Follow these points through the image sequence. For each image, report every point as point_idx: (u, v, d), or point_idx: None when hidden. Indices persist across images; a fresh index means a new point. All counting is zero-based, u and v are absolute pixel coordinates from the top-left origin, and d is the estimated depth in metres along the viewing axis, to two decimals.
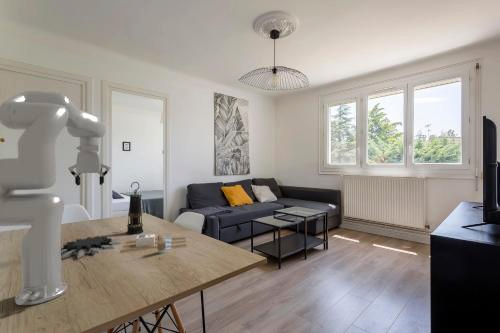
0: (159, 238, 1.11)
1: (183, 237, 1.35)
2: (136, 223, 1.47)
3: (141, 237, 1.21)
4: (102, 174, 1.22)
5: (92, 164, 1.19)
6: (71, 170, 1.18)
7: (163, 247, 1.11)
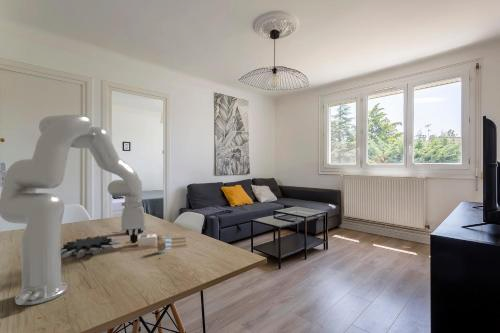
0: (159, 238, 1.11)
1: (183, 237, 1.35)
2: None
3: (143, 237, 1.21)
4: None
5: (137, 220, 1.20)
6: (125, 230, 1.20)
7: (163, 247, 1.11)
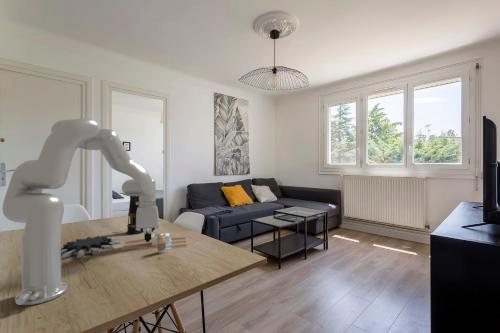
0: (159, 238, 1.11)
1: (183, 237, 1.35)
2: None
3: None
4: None
5: (151, 219, 1.21)
6: (139, 229, 1.22)
7: (163, 247, 1.11)
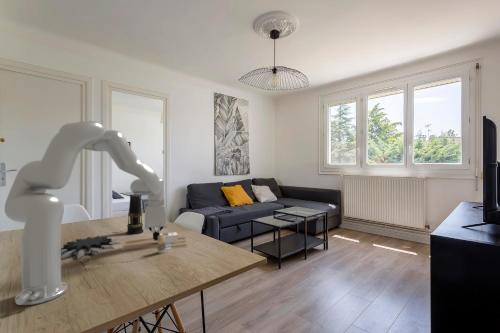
0: (159, 238, 1.11)
1: (183, 237, 1.35)
2: (136, 223, 1.47)
3: (165, 235, 1.25)
4: (159, 230, 1.24)
5: (159, 218, 1.23)
6: (148, 227, 1.23)
7: (163, 247, 1.11)
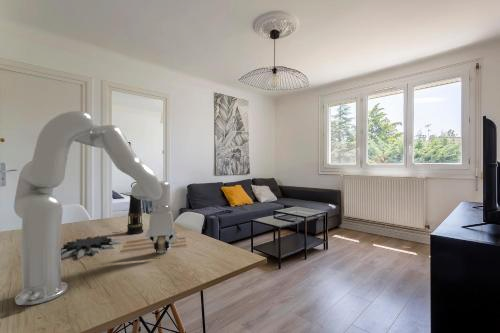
0: (159, 238, 1.11)
1: (183, 237, 1.35)
2: (136, 223, 1.47)
3: None
4: (168, 239, 1.12)
5: (165, 226, 1.10)
6: (149, 236, 1.10)
7: (163, 247, 1.11)
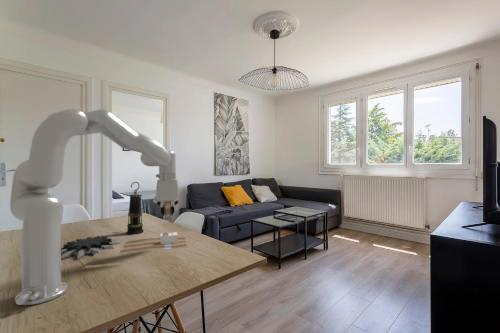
0: (165, 203, 1.19)
1: (183, 237, 1.35)
2: (136, 223, 1.47)
3: (165, 235, 1.25)
4: (174, 204, 1.20)
5: (171, 192, 1.18)
6: (156, 201, 1.18)
7: (169, 211, 1.19)
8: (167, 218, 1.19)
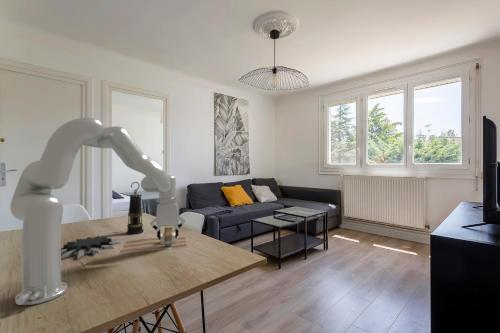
0: (166, 230, 1.19)
1: (183, 237, 1.35)
2: (136, 223, 1.47)
3: None
4: (178, 227, 1.21)
5: (171, 217, 1.18)
6: (153, 225, 1.18)
7: (169, 238, 1.19)
8: (167, 245, 1.19)
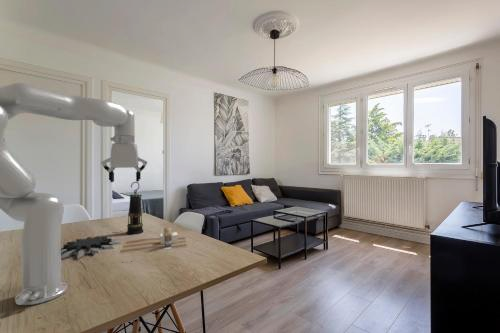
0: (166, 230, 1.19)
1: (183, 237, 1.35)
2: (136, 223, 1.47)
3: None
4: None
5: (128, 157, 1.03)
6: (104, 164, 1.02)
7: (169, 239, 1.19)
8: (167, 245, 1.19)
